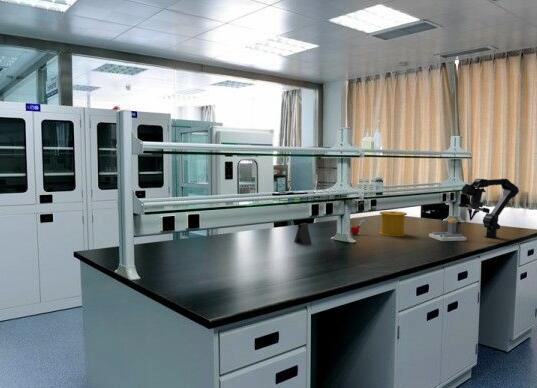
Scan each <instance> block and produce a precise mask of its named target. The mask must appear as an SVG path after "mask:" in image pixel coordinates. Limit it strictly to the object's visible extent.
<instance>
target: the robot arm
mask: <svg viewBox="0 0 537 388" xmlns="http://www.w3.org/2000/svg"><path fill="white" fill-rule="evenodd" d="M499 185H500V186H501V189H502V190H503V191H502V196H501V198H500V200H499V201H498V202H497V203H496V205H495V206H494V208H493V209H492V211H491V209H490V208H487V207H484V204H485V203H484V201H482V196H483V193H486V192H487V191H486V190H485V188H487V187H489V186H499ZM519 192H520V189H519V187H518V186H516V184H515V183H513V182H511V181H510V179H508V178H496V179H493V178H492V179H488V178H487V179H485V178H475V179H474V180H473V182H472V183H471V184H468V183H465V185H463V187H462V188H461V193H462V195H467V196H470V197H471V198H470V202H469V204H466V203H464V202H459V203H458V205H457V207H459V208H467V209H466V210H467V211H468V216H469V221H470V222H471V221H472V220H473V219H474V217H475V215H477V213H480V212H482V213H484V214H485V215H484V216H483V217H482V218H483V219H482V224H483V226H484V228H486V232H485V233H486V235H484V236H483V237H484V238H489V239H497V238H500V237H499V236H498V230H500V229H501V225H500V224H499V223H498V222H499V216H500V215H501V213H502V212H503V210H504V209H505V208H506V207H507V204H509V202H510V200H512V199H513V198H515V197H516V196H517V195H518V194H519ZM490 211H491V212H490Z"/></svg>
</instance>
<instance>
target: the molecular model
mask: <svg viewBox="0 0 537 388" xmlns="http://www.w3.org/2000/svg"><path fill="white" fill-rule="evenodd" d="M366 224H367V221H366V220H365V219H362V220H360V223H359V224H358V225H357V226H353V225H352V224H351V223H350V227H349V229H350V233H351V234H352V235H357V234H359V231H360V228H361V227H362V226H365V225H366Z"/></svg>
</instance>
